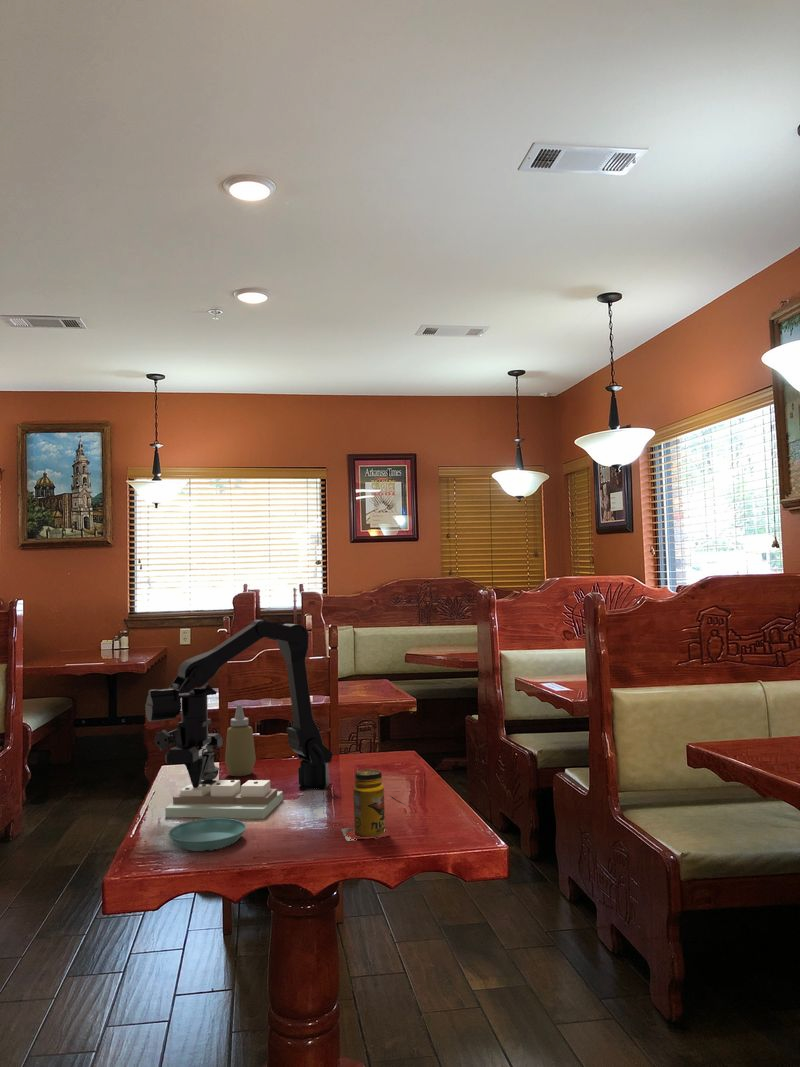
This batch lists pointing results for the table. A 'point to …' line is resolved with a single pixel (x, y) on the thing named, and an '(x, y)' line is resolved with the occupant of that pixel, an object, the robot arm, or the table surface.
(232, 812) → the board
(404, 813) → the table surface
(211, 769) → the grey tall tapered piece
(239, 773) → the squeeze bottle
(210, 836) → the saucer
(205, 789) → the three-pip key
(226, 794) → the two-pip key
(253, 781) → the one-pip key
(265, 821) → the table surface
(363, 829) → the condiment
